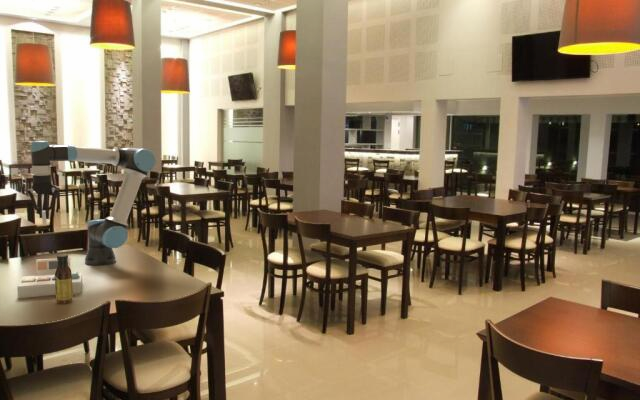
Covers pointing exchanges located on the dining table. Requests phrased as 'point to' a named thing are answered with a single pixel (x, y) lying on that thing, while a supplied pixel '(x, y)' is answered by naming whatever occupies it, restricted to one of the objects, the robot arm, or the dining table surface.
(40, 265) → the placard
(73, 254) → the dining table surface
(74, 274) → the key
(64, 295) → the sauce bottle
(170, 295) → the dining table surface
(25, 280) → the key
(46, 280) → the key
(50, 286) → the keypad
